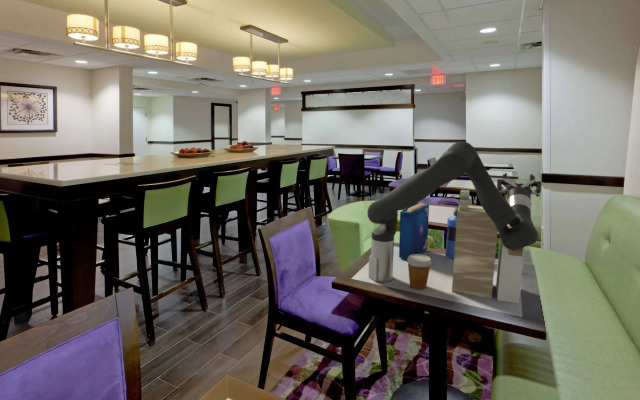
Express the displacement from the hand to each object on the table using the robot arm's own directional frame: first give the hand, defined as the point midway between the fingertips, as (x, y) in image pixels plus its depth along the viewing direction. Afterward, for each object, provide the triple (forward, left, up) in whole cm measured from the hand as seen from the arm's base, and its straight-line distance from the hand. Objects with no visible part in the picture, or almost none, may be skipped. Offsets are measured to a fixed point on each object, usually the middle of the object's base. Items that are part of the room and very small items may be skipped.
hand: (518, 175), depth 140 cm
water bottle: (+6, +36, -45) cm, 58 cm away
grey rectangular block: (-6, -5, -45) cm, 45 cm away
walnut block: (-9, -8, -24) cm, 27 cm away
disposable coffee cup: (-33, +13, -45) cm, 57 cm away
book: (-12, +46, -45) cm, 65 cm away
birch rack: (-14, +4, -45) cm, 47 cm away
